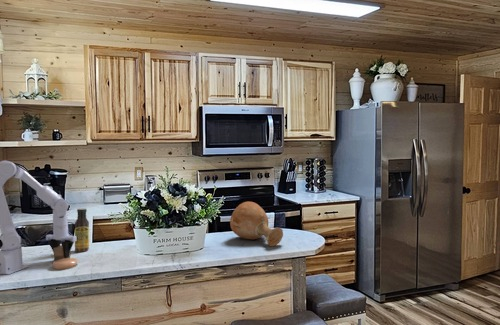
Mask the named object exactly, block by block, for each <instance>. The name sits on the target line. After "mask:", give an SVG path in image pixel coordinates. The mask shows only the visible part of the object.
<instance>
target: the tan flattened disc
mask: <svg viewBox="0 0 500 325" xmlns="http://www.w3.org/2000/svg"><path fill="white" fill-rule="evenodd" d="M76 265H77V266H78V259H77V258H74V257H70V258H65V259H60V260H56V261H54V260H53V262H52V268H53V270H59V271H61V270H62V271H63V270H69V269H73V268H75V267H77V266H76Z"/></svg>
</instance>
